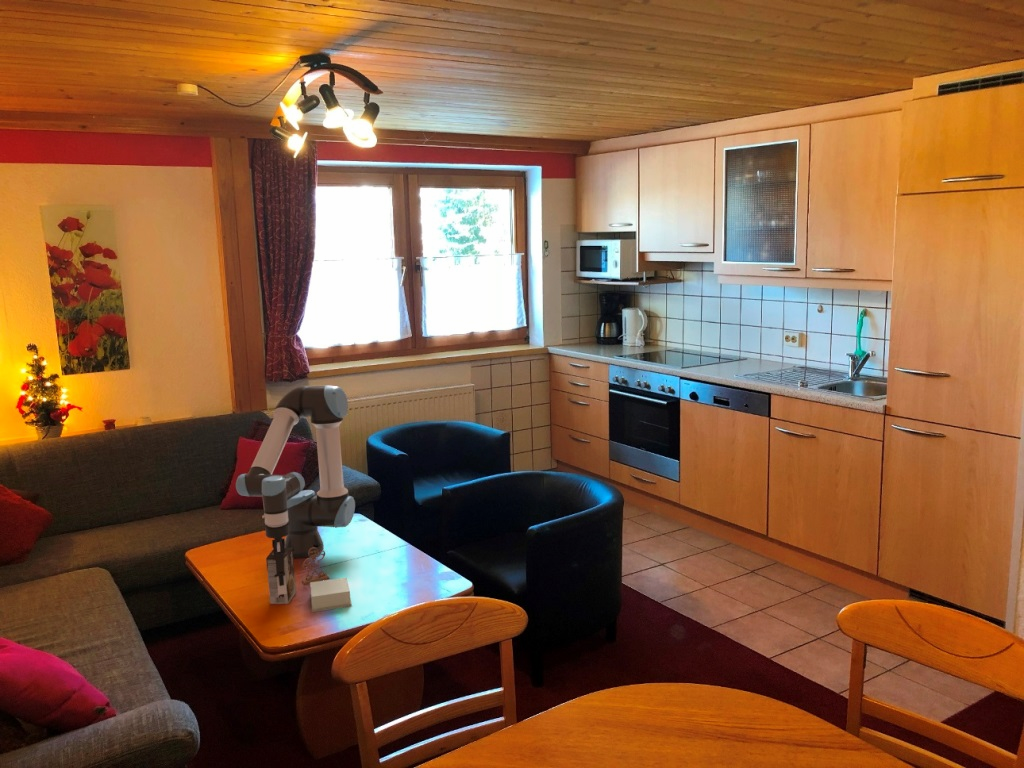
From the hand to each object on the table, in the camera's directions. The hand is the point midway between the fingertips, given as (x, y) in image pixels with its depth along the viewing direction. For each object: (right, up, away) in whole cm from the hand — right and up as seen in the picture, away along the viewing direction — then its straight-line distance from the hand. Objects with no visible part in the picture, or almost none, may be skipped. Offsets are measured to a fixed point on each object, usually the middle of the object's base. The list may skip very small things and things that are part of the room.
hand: (282, 587), depth 271 cm
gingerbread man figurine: (+7, -1, +15) cm, 17 cm away
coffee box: (0, -4, +1) cm, 4 cm away
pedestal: (+17, -4, -3) cm, 17 cm away
